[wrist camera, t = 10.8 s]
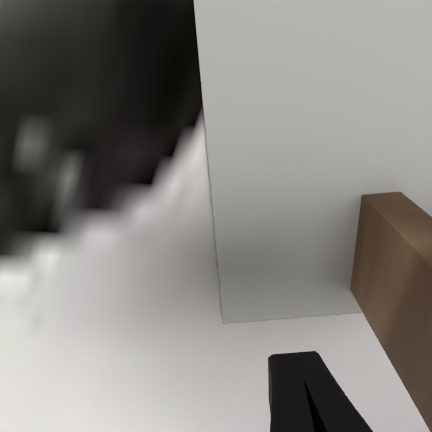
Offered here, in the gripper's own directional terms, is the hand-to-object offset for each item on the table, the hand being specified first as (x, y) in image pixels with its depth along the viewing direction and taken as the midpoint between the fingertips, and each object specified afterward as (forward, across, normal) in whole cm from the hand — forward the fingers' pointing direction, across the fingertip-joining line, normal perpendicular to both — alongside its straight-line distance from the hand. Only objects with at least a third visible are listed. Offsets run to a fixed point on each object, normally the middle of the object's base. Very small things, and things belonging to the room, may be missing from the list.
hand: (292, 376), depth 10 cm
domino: (+6, -5, 0) cm, 8 cm away
